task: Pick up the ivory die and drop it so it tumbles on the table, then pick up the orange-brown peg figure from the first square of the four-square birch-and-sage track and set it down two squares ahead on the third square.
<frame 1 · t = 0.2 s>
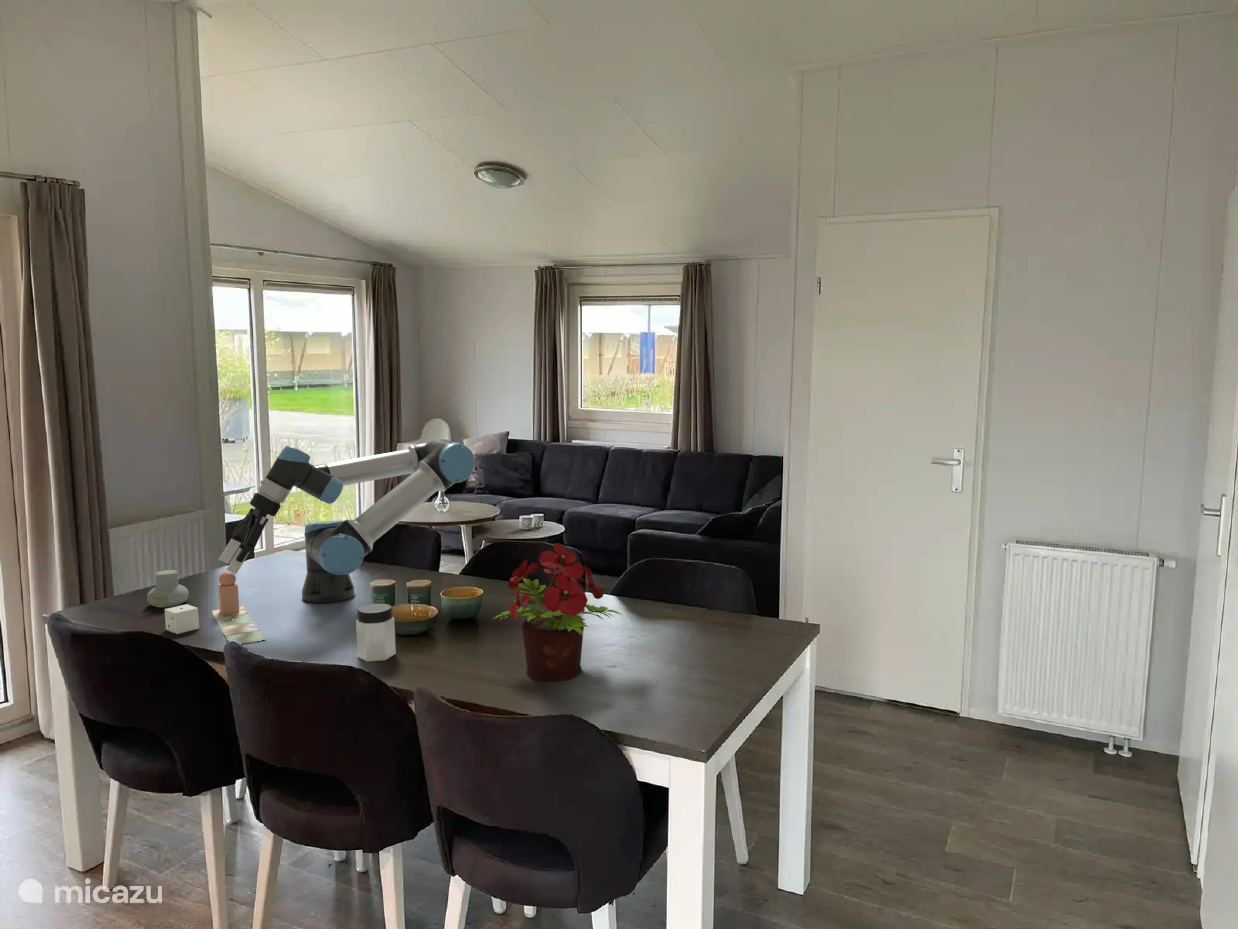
hand: (227, 566, 240), 16 cm above the table, tool tilted 35°, fingers open, 13 cm apart
orange-brown peg figure: (229, 612, 253), resting on track
air freshener: (168, 606, 261), on the table
die: (182, 630, 238), on the table
jar: (376, 656, 217), on the table
potted plant: (562, 669, 207), on the table
track: (237, 625, 241), on the table
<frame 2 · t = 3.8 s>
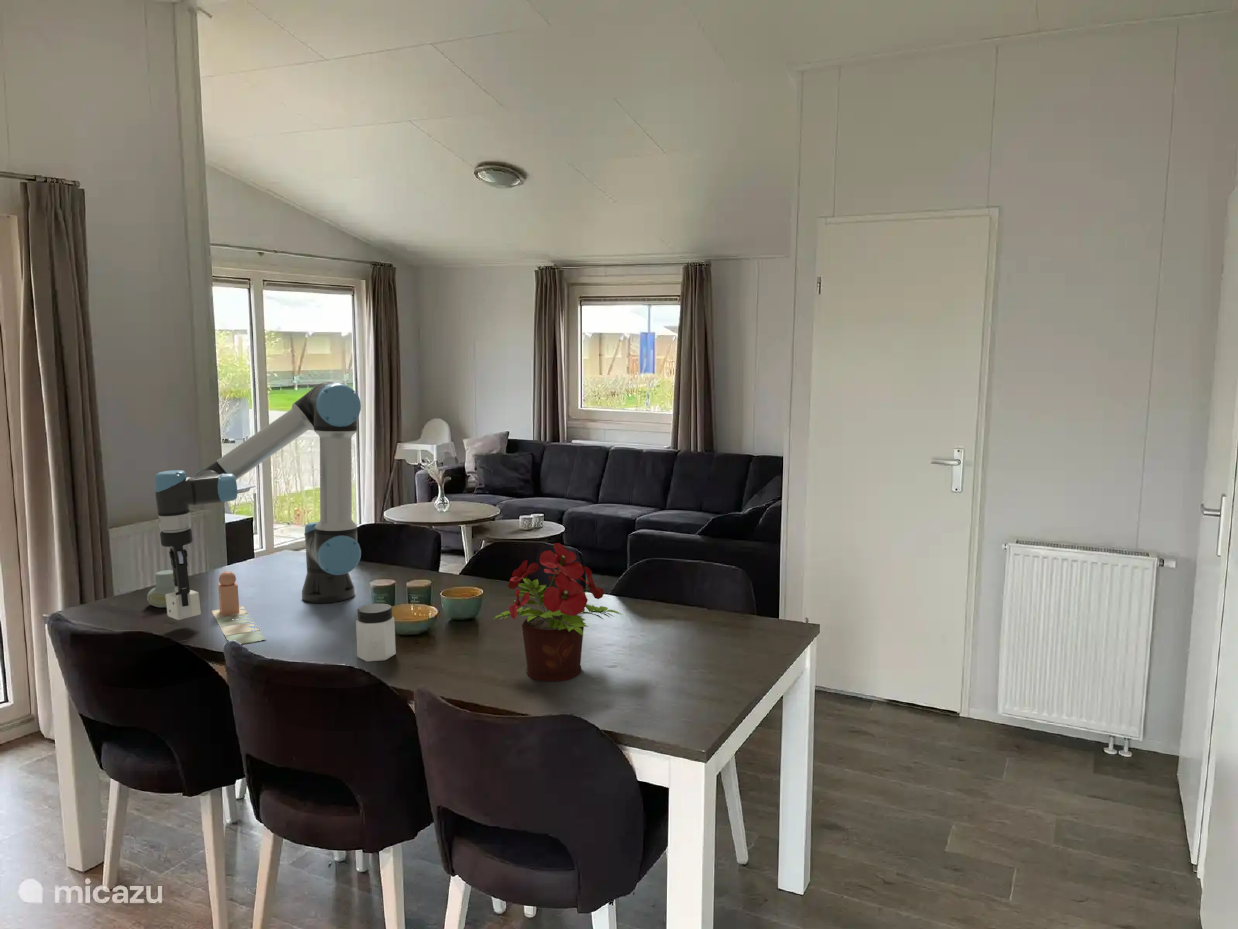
hand: (184, 613, 237), 4 cm above the table, tool pointing down, fingers closed on die, 7 cm apart
die: (184, 615, 237), point 4 cm above the table, touching gripper
everything else where it was.
when the fingers open (8 cm above the table, at t = 5.2 s): die drops 8 cm, on the table.
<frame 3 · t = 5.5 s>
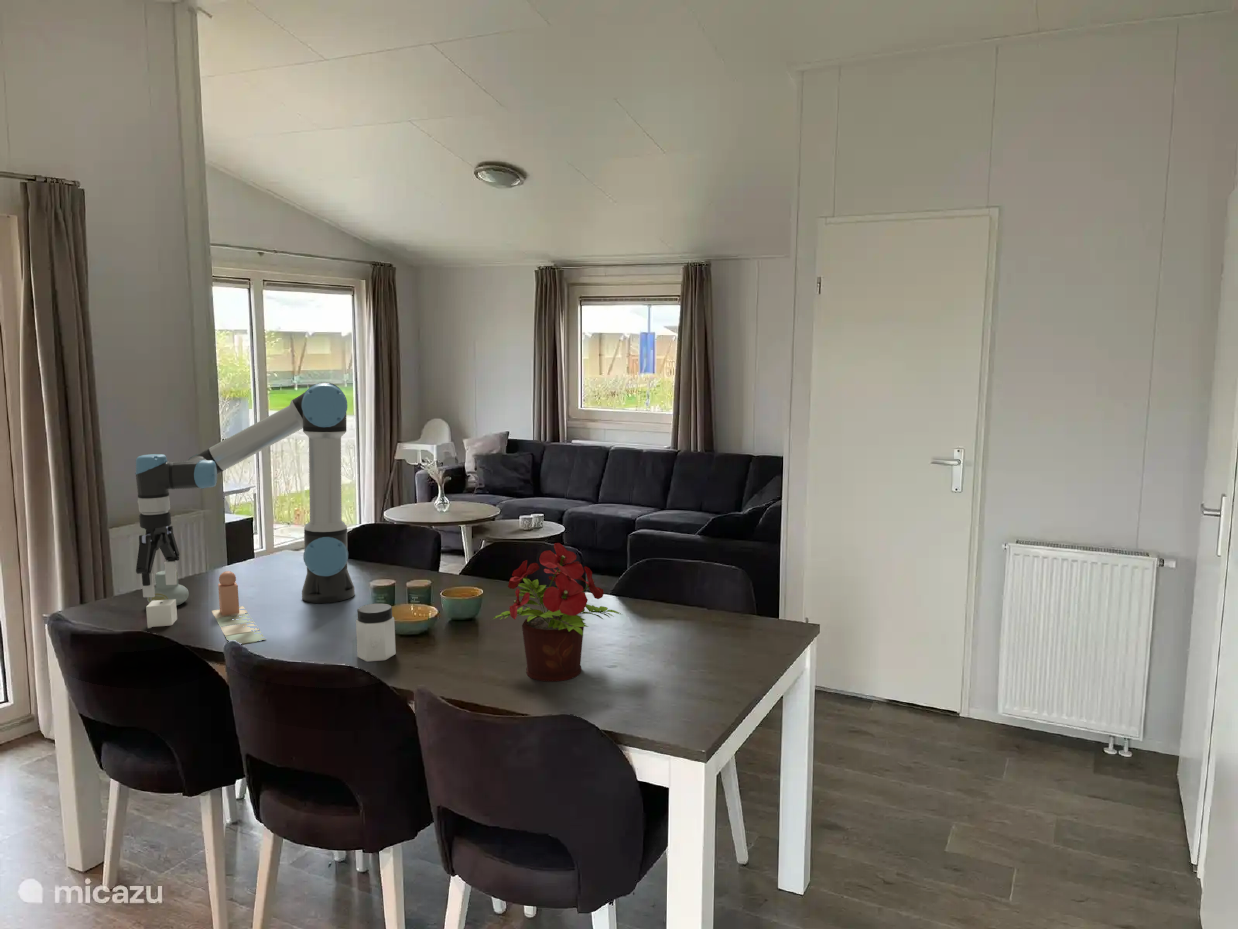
hand: (160, 590, 242), 9 cm above the table, tool pointing down, fingers open, 12 cm apart
die: (162, 624, 243), on the table
everything else where it was.
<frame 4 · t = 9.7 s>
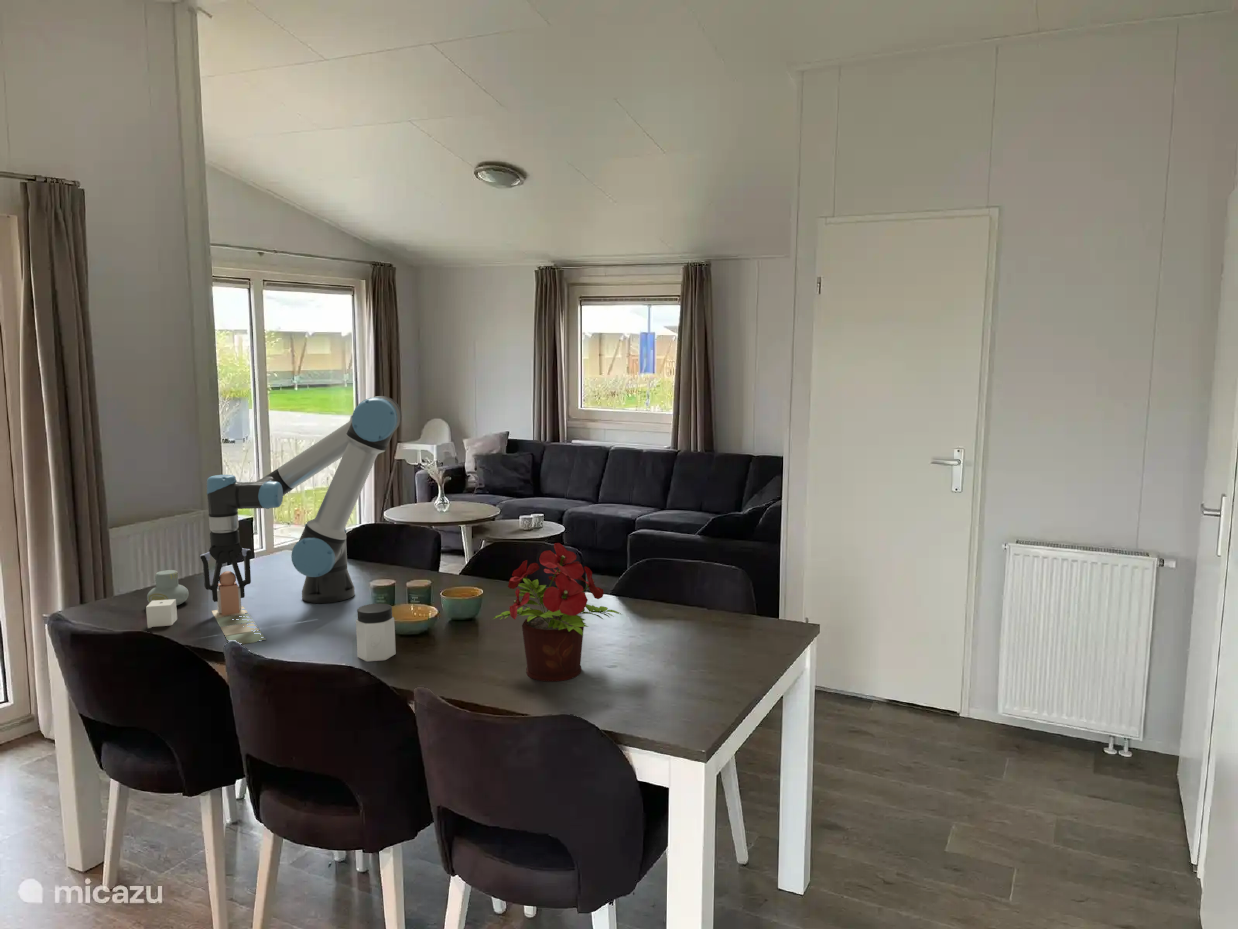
hand: (229, 610, 253), 1 cm above the table, tool pointing down, fingers closed on orange-brown peg figure, 4 cm apart
orange-brown peg figure: (229, 612, 253), resting on track, touching gripper
everything else where it was.
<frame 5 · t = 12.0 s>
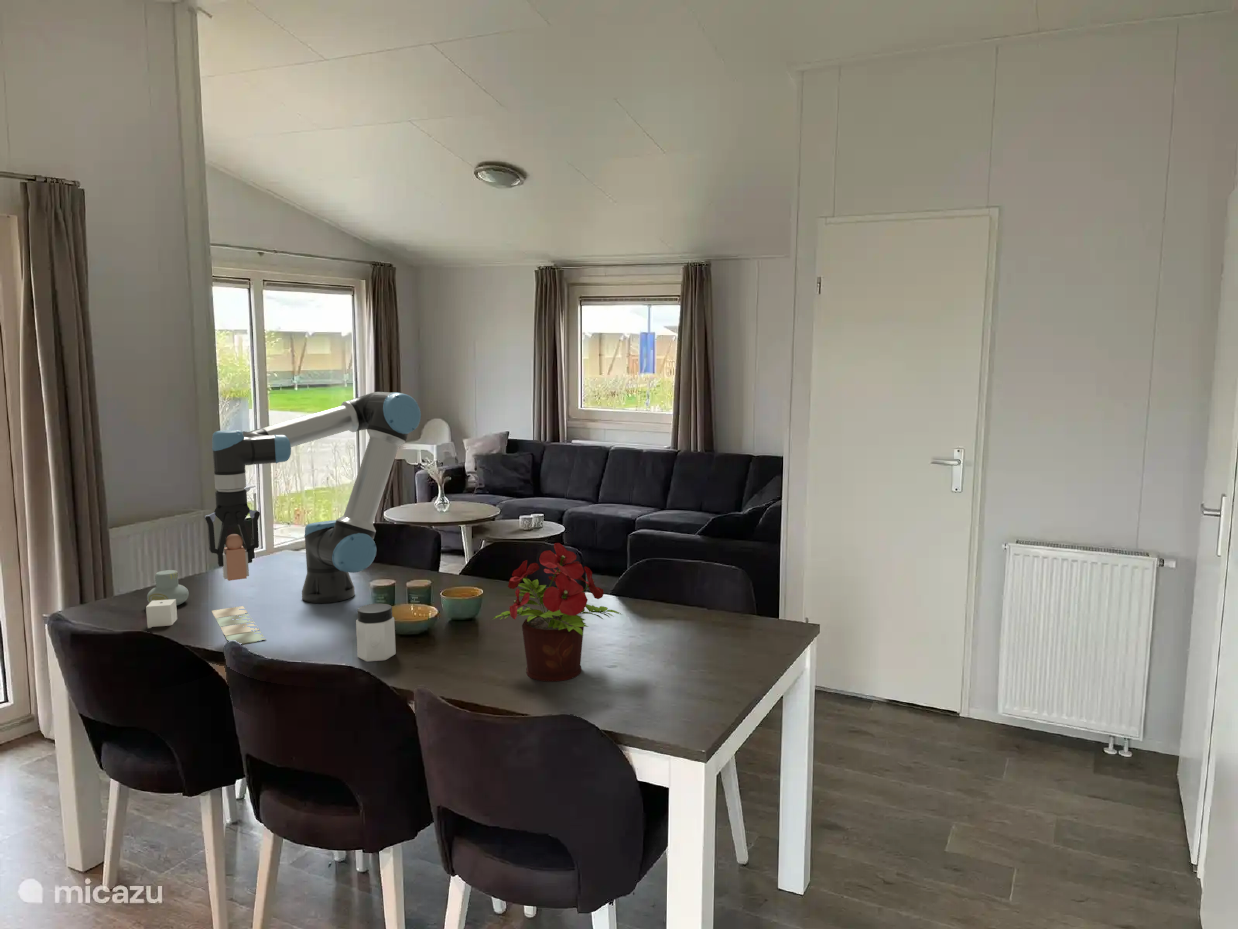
hand: (236, 576, 236), 15 cm above the table, tool pointing down, fingers closed on orange-brown peg figure, 4 cm apart
orange-brown peg figure: (236, 577, 236), point 14 cm above the table, touching gripper
everything else where it was.
when the fingers open (2 cm above the table, at t = 14.5 s): orange-brown peg figure drops 1 cm, resting on track.
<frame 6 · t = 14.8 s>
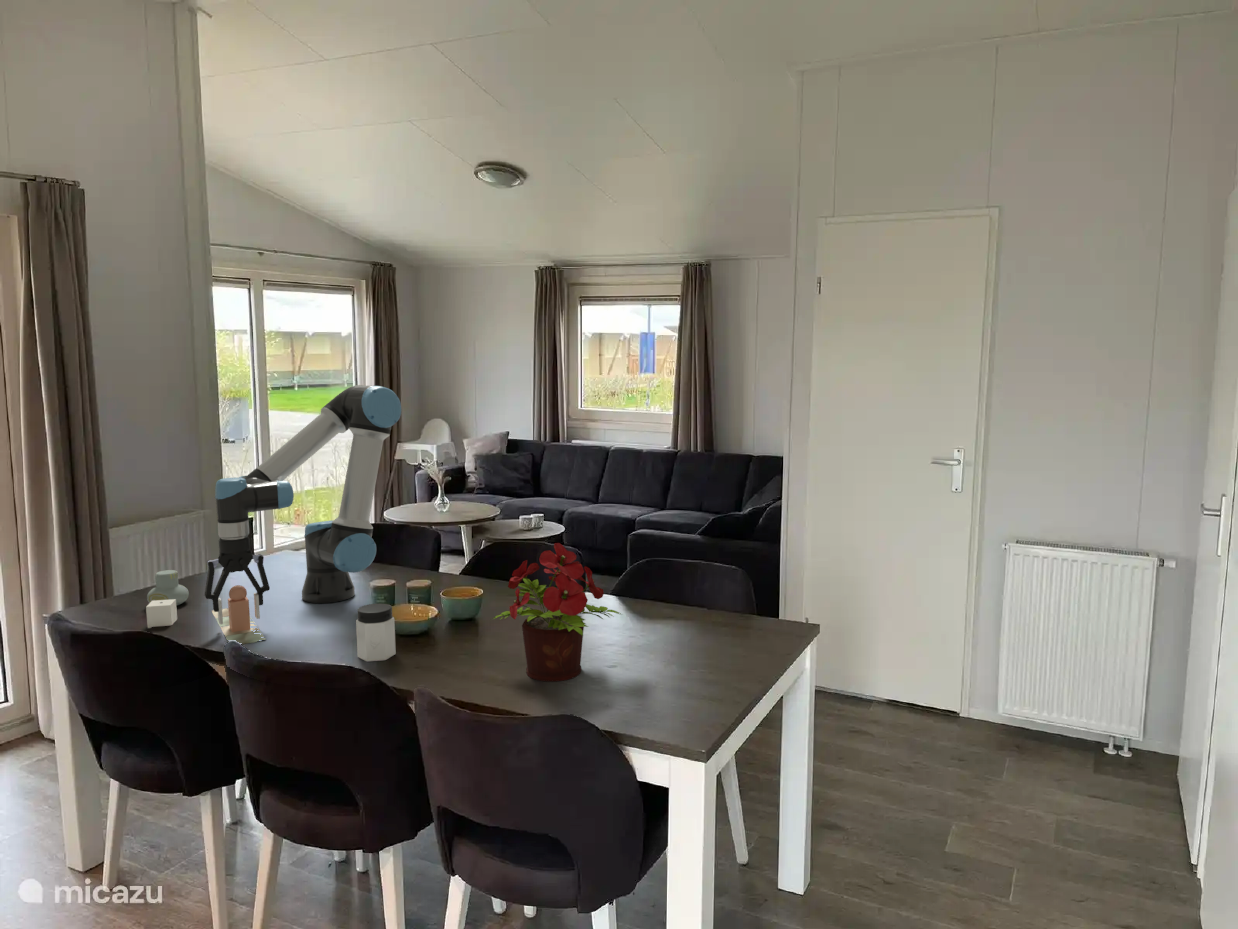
hand: (239, 620, 237), 3 cm above the table, tool pointing down, fingers open, 8 cm apart
orange-brown peg figure: (240, 628, 238), resting on track
everything else where it was.
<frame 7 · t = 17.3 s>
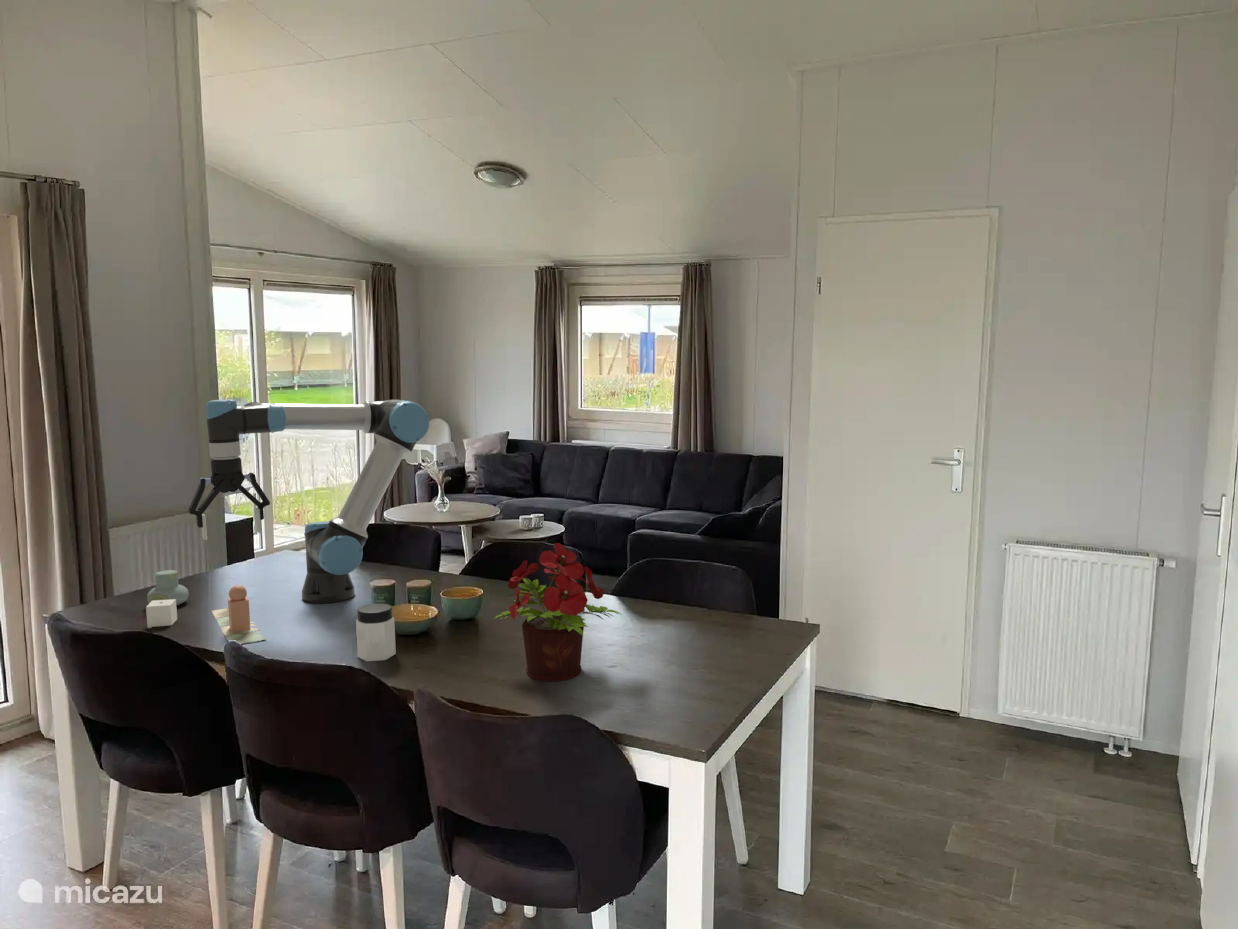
hand: (232, 535, 241), 24 cm above the table, tool pointing down, fingers open, 13 cm apart
nothing on the table moved.
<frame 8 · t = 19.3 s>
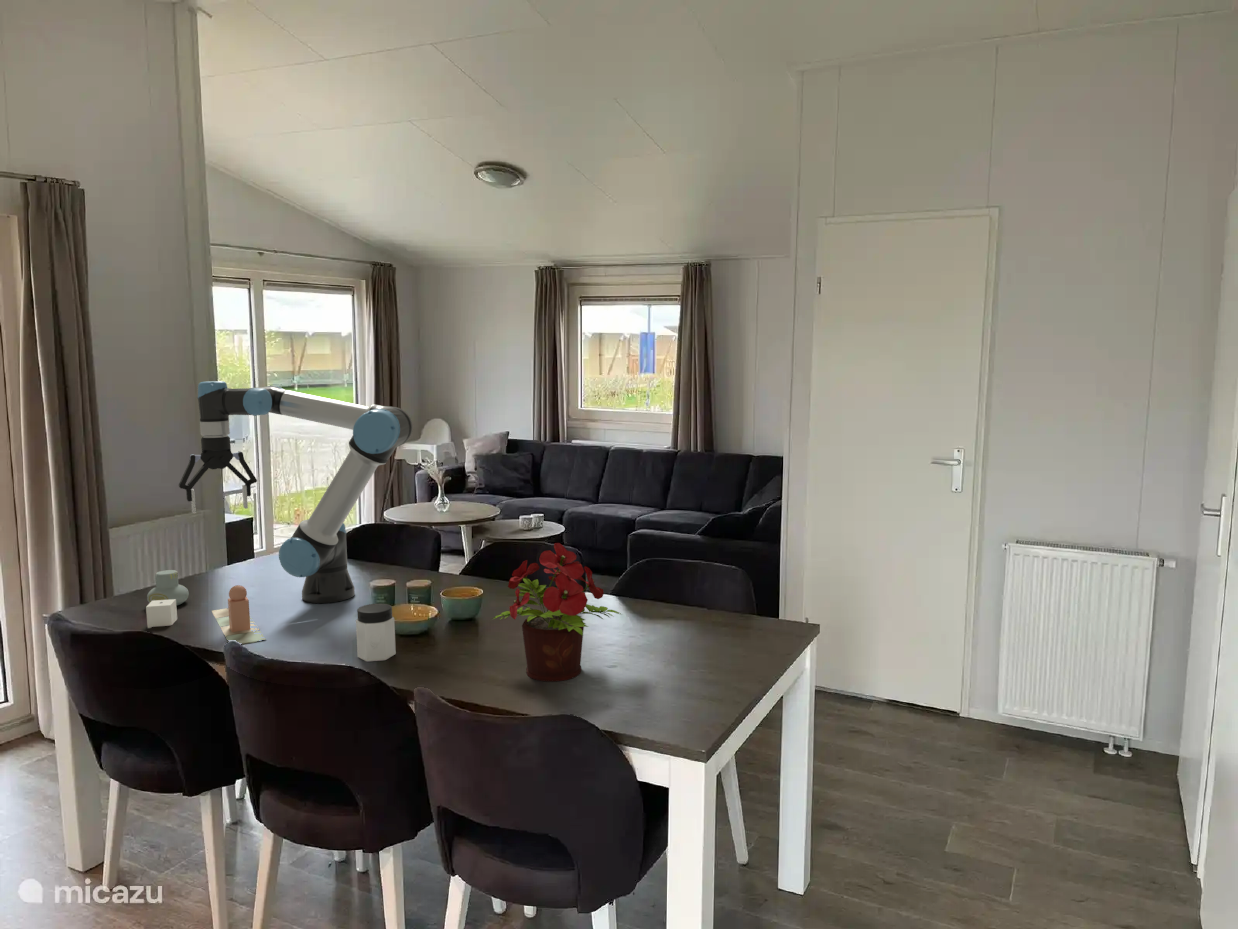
hand: (220, 510, 254), 29 cm above the table, tool pointing down, fingers open, 13 cm apart
nothing on the table moved.
at the end: orange-brown peg figure inside the target area (0.1 cm from its centre), resting on track; orange-brown peg figure tilted 0°; die moved 9.9 cm from its start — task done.
